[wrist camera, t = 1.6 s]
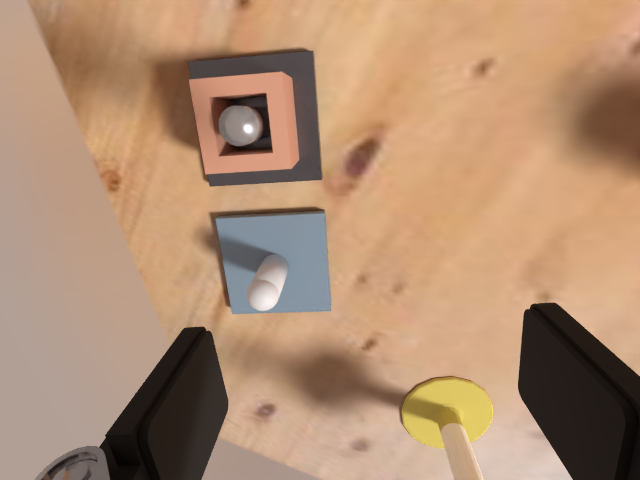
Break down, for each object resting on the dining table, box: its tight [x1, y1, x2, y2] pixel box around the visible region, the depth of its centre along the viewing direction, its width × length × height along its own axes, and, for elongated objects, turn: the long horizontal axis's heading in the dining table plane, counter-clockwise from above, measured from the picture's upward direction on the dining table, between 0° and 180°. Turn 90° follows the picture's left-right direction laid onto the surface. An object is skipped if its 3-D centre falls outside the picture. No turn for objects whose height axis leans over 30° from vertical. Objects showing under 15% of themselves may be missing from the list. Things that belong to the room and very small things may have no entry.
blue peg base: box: [216, 210, 331, 314], centre depth 31 cm, size 10×10×8 cm
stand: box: [188, 51, 323, 186], centre depth 27 cm, size 10×10×7 cm
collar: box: [189, 72, 299, 174], centre depth 27 cm, size 6×6×5 cm
